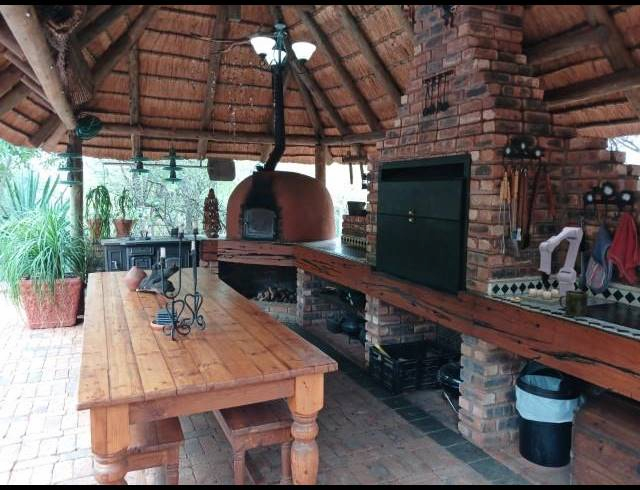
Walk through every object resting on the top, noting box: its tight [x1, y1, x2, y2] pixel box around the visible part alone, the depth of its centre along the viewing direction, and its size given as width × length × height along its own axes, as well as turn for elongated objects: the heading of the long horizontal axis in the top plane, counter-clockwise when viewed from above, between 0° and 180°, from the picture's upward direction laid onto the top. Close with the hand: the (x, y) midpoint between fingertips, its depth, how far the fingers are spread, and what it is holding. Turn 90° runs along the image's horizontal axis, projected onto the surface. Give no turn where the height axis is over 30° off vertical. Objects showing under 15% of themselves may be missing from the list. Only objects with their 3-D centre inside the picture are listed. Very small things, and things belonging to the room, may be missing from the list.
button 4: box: [528, 288, 538, 297], centre depth 308 cm, size 4×4×4 cm
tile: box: [506, 296, 524, 302], centre depth 310 cm, size 9×9×1 cm
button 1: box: [550, 288, 560, 298], centre depth 306 cm, size 4×4×4 cm
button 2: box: [543, 290, 551, 300], centre depth 301 cm, size 4×4×4 cm
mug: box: [558, 290, 589, 317], centre depth 272 cm, size 11×15×12 cm
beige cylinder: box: [536, 289, 545, 296], centre depth 314 cm, size 4×4×4 cm
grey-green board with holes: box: [519, 292, 566, 306], centre depth 308 cm, size 20×20×2 cm
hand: (544, 284), depth 305 cm, fingers closed
